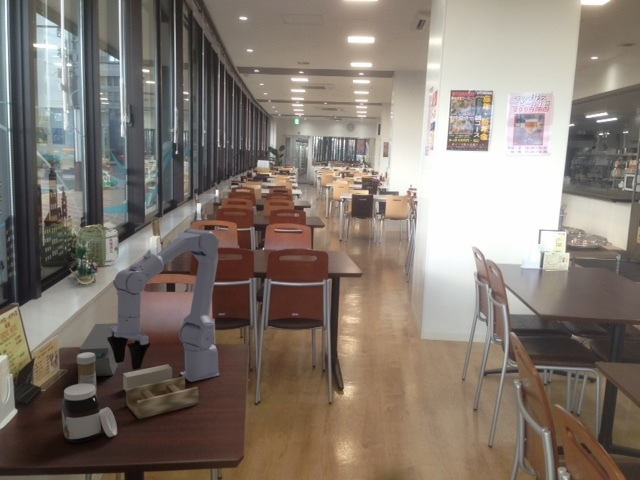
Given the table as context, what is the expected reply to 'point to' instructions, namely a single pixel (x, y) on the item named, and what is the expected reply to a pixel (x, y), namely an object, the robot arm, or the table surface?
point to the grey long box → (101, 349)
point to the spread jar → (85, 414)
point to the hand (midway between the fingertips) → (128, 365)
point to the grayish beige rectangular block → (146, 376)
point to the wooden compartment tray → (160, 397)
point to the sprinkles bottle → (86, 369)
